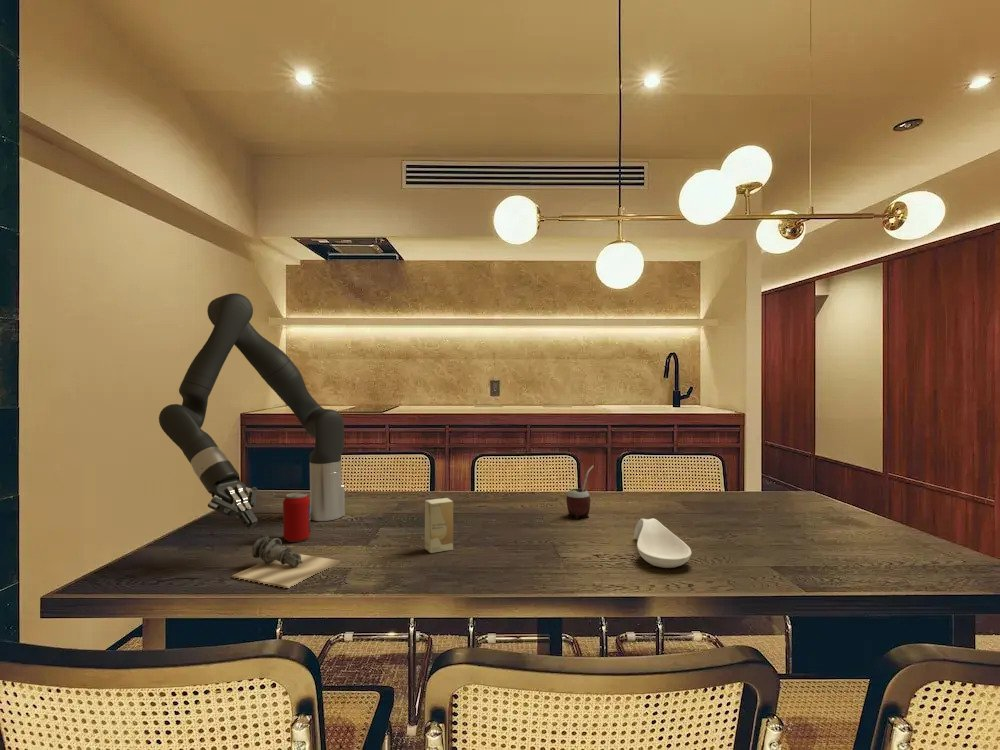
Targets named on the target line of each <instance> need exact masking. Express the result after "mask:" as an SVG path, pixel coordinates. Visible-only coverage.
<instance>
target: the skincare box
mask: <svg viewBox="0 0 1000 750" xmlns="http://www.w3.org/2000/svg"><path fill="white" fill-rule="evenodd" d="M424 549H425V550H426V551H427V552H428V553H430V554H434V553H439V552H446V551H453V550H454V501H453V500H451V499H450V498H448V497H443V498H434V499H426V500H424Z"/></svg>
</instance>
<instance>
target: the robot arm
mask: <svg viewBox="0 0 1000 750" xmlns="http://www.w3.org/2000/svg"><path fill="white" fill-rule="evenodd" d="M253 307H254V306H253V304H252V302H251V300H250V299H249V298H248V297H247V296H245V295H244V294H241V293H227V294H225V295H221V296H219V297H216V298H214V299H212V300H211V301H210V302H209V304H208V306H207V310H206V312H207V316H208V319H209V321H210V323H211V324H212V325H213V329H212V330H211V333H210V335H209V337H208V338H207V340H206V342H205V343H204V344H203V346H202V347H201V349H200V350H199V351H198V352H197V354H196V355H195V356H194V358H193V360H192V361H191V363H190V364H189V367H188V368H187V370H186V372H185V374H184V376H183V379H182V381H181V382H180V385H179V387H178V392H179V394H180V396H181V397H182V403H181V404H179V403H171V404H168V405H167V406H166V405H165V406H164V407H163V408H162V410H161V411H160V412H159V415H158V422H159V426H160V428H161V430H162V431H163V432H164V433H165V434H166V436H167V437H168V438H169V439H170V440H171V441H172V442H173V443H174V444H175V445H176V446H177V447H178V448H179V449H180V450H181V451H182V453H183V455H184V457H185V458H186V459H187V461H188V462H189V463H190V465H191V468H192V469H193V473H195V475H196V476H197V478H198V479H199V481H200V482H201V484H202V485H203V486H204V488H205V490H206V491H207V492H208V494H209V495H211V497H212V498H211V499H210V501H209V502H208V503H207V507H208V508H210V509H212V510H214V511H215V512H218V513H220V514H222V515H223V516H227V517H228V518H232V517H236V518H238V519H239V520H240V521H241V523H242V525H243V526H244V527H246V528H247V529H251V528H255V526H256V525H257V524H258V518H257V516H256V515H255V513H254V512H253V509H254V507H255V506H256V505H257V497H258V488H257V487H256V486H253V487H252V488H251V487H247V486H246V484H245V483H244V482H242V481H241V479H240V474H239V472H238V471H237V469H236V468H235V466H234V465H233V464H232V462H231V461H230V459H229V458H228V457H227V456H226V454H225V453H224V452H223V451H222V450H221V449H220V447H219V446H218V445H217V442H216V441H215V440H214V439H213V437H212V436H211V435H210V434H208V433H207V432H206V431H204V430H203V429H202V427H203V425H204V422H205V418H206V414H207V408H208V402H209V401H208V400H209V397H210V394H211V393H212V391H213V388H214V385H215V384H216V382H217V379H218V377H219V375H220V373H221V370H222V368H223V366H224V365H225V362H226V360H227V358H228V356H229V354H230V353H231V351H232V349H233V347H234V346H235V347H236V348H237V349H238V351H239V352H240V353H241V354H242V355H243V357H244V358H245V359H246V360H247V361H248V362H249V364H250V365H251V366H252V367H253V368H254V369H255V371H256V372H257V374H259V376H260V377H261V378H262V379H263V380H264V382H265V383H266V384H267V385H268V386H269V388H271V389H272V390H273V392H274V393H275V394H276V395H277V396H278V397H279V398H280V400H282V401H283V402H284V404H285V405H287V407H288V408H289V409H290V410H291V412H292V413H293V414H294V415H295V418H297V420H298V421H299V422H300V424H301V426H302V428H303V429H304V430H305V431H306V433H307V434H308V435H309V436H310V437H312V438H314V440H315V442H314V444H315V445H314V449H313V450H312V451H311V452H310V453H309V493H310V497H309V499H310V521H311V520H312V521H315V522H326V521H333V520H338V519H340V518H342V517H345V516H346V504H345V503H346V501H345V497H346V496H345V495H346V494H345V485H344V484H343V483H342V481H343V480H342V454H343V452H344V448H345V447H344V445H345V423H344V422H345V421H344V419H343V416H342V415H341V413H340V412H339V411H337V410H335V409H331V408H330V409H329V408H324V407H322V405H320V404H319V403H318V402H317V401H316V400H315V398H313V396H312V395H311V393H310V392H309V391H308V389H307V385H306V383H305V380H304V378H303V376H302V375H303V374H302V372H301V371H300V369H299V368H298V367H297V365H296V364H295V363H294V362H293V361H292V359H291V358H290V357H289V356H288V355H287V354H286V353H285V352H284V351H283V350H281V349H280V348H279V347H278V346H276V345H275V344H274V343H272V342H271V341H269V340H268V339H266V338H265V337H263V335H261V334H260V333H259V332H258V331H257V330H256V328H255V327H254V326H253V325H252V324H251V322H250V321H251V319H252V317H253V314H254V308H253Z"/></svg>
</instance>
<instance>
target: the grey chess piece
mask: <svg viewBox="0 0 1000 750" xmlns="http://www.w3.org/2000/svg"><path fill="white" fill-rule="evenodd" d="M282 543H283V542H282V540H281V539H280V538H278V537H276V538H274V537H273V538H269V535H266V534H262V535H261V536H259V537H258V538H257V539H256V540H255V541H254V544H253V545H252V548H251V556H252V557H254V558H256V559H258V558H260V560H262V561H263V562H264V563H266V564H270V563H272V562H273V561H274V560H277V561H280V562H281V564H285V563H286V564H288V565H291V566H294V567H295V566H297V565H299V563H300V564H301V563H303V562H302V561H301V555H300V554H301V553H297V552H295V551H292V548H285V547H283V545H282Z"/></svg>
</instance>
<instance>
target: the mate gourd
mask: <svg viewBox="0 0 1000 750" xmlns="http://www.w3.org/2000/svg"><path fill="white" fill-rule="evenodd" d="M594 467H595V466H594V465H591V467H589V468H588V470H587V472H586V473H585V478H584V481H583V486H582V488H572V489H569V490H568V491H567V493H566V494H567V495H566V506H567V512H568V514H567V515H568V518H569V517H570V518H571V517H572V518H574V520H576V521H577V520H579V518H583V519H589V518H590V516H589V513H590V509H591V497H590V493H589V492H588V490H587V489H585V488H586V485H587V480H588V477H589V473H590V471H591V470H592V469H593V468H594Z"/></svg>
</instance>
